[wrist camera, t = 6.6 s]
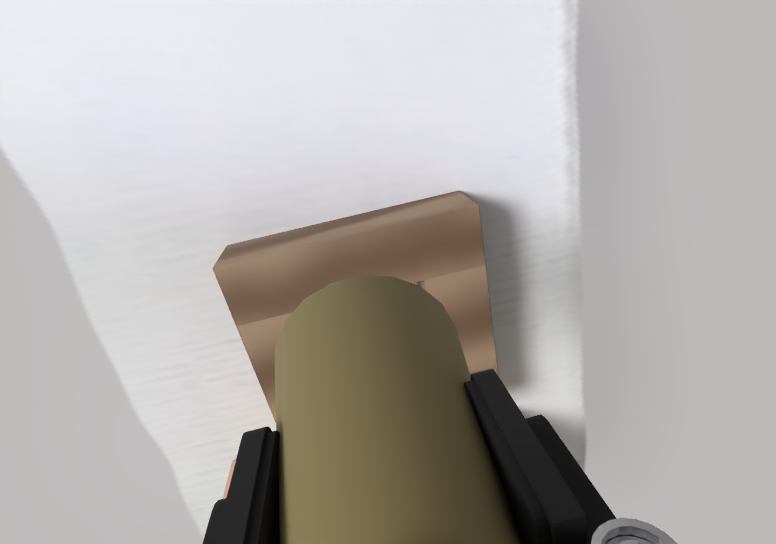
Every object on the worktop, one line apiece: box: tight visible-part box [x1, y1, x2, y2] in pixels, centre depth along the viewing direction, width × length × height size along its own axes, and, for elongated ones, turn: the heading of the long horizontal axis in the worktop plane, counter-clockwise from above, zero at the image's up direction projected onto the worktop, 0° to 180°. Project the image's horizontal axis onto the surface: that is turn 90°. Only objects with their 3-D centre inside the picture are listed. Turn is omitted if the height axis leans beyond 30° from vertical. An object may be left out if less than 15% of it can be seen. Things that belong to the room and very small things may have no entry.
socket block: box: [213, 191, 498, 422], centre depth 30 cm, size 16×16×4 cm
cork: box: [275, 275, 522, 544], centre depth 9 cm, size 6×6×11 cm
